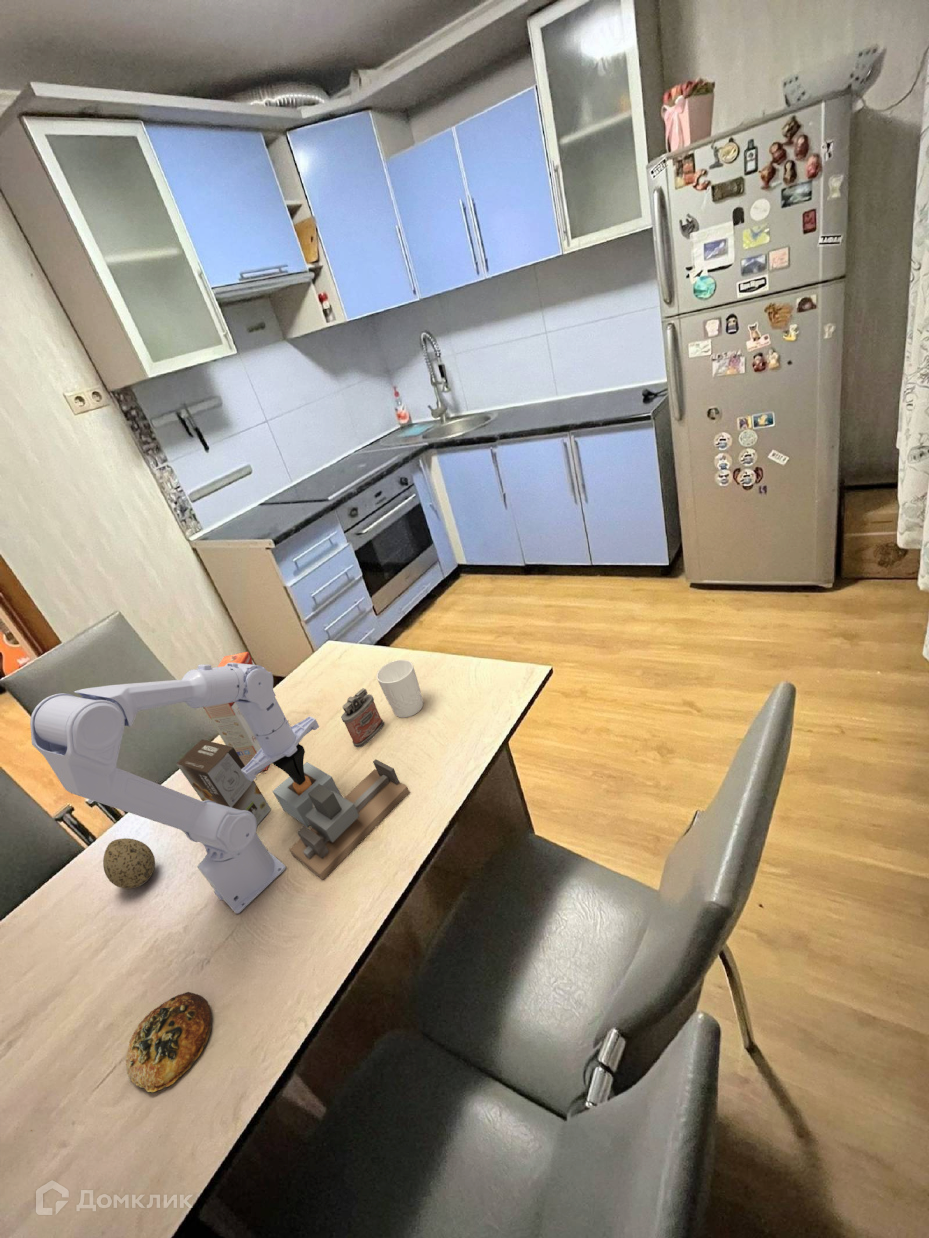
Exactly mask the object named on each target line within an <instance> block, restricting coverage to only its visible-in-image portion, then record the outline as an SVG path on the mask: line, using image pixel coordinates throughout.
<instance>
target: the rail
mask: <svg viewBox="0 0 929 1238" xmlns="http://www.w3.org/2000/svg"><path fill="white" fill-rule="evenodd" d="M372 764H373V765H374V769H373V770H372V771H371V772H370V773H369V774H368V775H366V776H365V778H363V779H362V780H361V781H360V782H359V783H358V784H357V785H356V786H355V787H353V789H352V790H350V792H348V793H347V795H345V796H344V797H343V798H345V799H347V800H348V801H350V802H352V803H353V804H354V805H355V807H356V809H357V811H358V813H359V815H360V816H359V817H358V818H357V819H356V820H355V821H354V822H353V823H352V824H351V825H350V826H349V827H348V828H347V829H346V830H345V831H344V832H343V833H342V834H341V835H340V836H339V837H338V838H337V839H336V840H335V841H334V842H333V843H332V842H331V841H330V840H328V839H327V838H325V837H324V836H323V835H321V834H320V833H319V832H317V831H316V830H314V829H313V828H312V827H311V828H308V827H306V826H305V825H302V827H301V828H299V829H298V830H297V831H296V833H297V835H298V836H299V839H298V840H297V841H296V842H295V843H294V844H293V845H292V846H290V848H289V849H288V850H289V852H290V854H291V855H292V856H293V858H295V859H296V860H298V861H299V862H300V863H301V864H303V865H304V866H305V867H306V868H307V869H308V870H310V871H312V873H314V874H315V875H316V876H318V877H319V878H320V879H321V880H322V881H324V880H325V879H326V878H327V877H328V876H329V875H330V874H331V873H332V872H333V871H334V870H335V868H337V867H338V866H339V865H340V864H341V863H342V862H343V860H345V859H346V858H347V857H348V856H349V855H350V854H351V852H353V850H355V848H357V847H358V846H359V844H360V843H361V842H362V841H363V840H365V838H366V837H368V835H370V833H372V831H373V830H374V829H375V828H376V827H377V826H378V825H379V824H380V823H381V822H382V821H383V820H384V819H385V818H386V817H387V816H388V814H390V813H391V812H392V810H394V809H395V807H397V806H398V805H399V804H400V803H401V802H402V801H403V800H404V798H405V797H406V796H407V795H408V794H409V793H410V790H409V788H408V786H407V785H405V784H404V783H401V781H400V780H399V777H398V775H397V772H396V771H395V769H394V767H391V766H389V765H388V764H386V763H383V762H382V761H380V760H378V759H374V760H373V761H372Z"/></svg>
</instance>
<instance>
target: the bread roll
mask: <svg viewBox="0 0 929 1238" xmlns="http://www.w3.org/2000/svg"><path fill="white" fill-rule="evenodd" d="M212 1017H213V1016H212V1010H211V1006H210V1004H209V1003H208V1000H206V999H205V998H204V997H203V995H200V994H198V993H193V992H189V991H187V992H183V993H180V994H177V995H176V996H174V997H170V999H167V1000H166V1001H164V1002H163V1003H161V1004H160V1005H158V1006H157V1007H156V1008H153V1010H151V1011H150V1012H149V1013H148V1014H147V1015H145V1017H144V1018H143V1019H142V1020H141V1021H140V1023H138V1025H137V1027H136V1029H135V1030H134V1031H133V1033H132V1034H131V1037H130V1040H129V1044H128V1047H127V1051H126V1056H125V1063H126V1064H125V1065H126V1074H127V1075H128V1077H129V1078H130V1080H131V1083H133V1084H134V1085H136V1087H138V1088H142V1089H144V1090H145V1091H146V1092H148V1093H156V1092H158V1091H160V1090H163V1089H164V1088H167V1087H170V1086H172V1085H174V1084H175V1082H177V1081H178V1080H179V1079H180V1078H181V1077H182V1076H183V1075H184V1074H185V1073H186V1072H187V1071H189V1070H190V1069H191V1068H192V1067H193V1065H194V1063H195V1062H196V1061H197V1060H198V1058H199V1057H200V1056H201V1054H202V1053H203V1052H204V1050H205V1047H206V1045H207V1042H208V1041H209V1038H210V1035H211V1032H212V1019H213V1018H212Z"/></svg>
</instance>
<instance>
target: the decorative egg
mask: <svg viewBox="0 0 929 1238" xmlns="http://www.w3.org/2000/svg"><path fill="white" fill-rule="evenodd" d="M102 862H103V871H104V873H105V874H104V875H105V876H106V878H107V879H108V881H109V882H110V883H111V884H112V885H114V886H116V887H118V888H121V889H126V890H128V889H131V890H132V889H135V888H138V887H141V886H142V885H144V884H145V883H146V882H148V880H150V878H151V877H152V874H153V873H154V871H155V867H156V859H155V855H154V852H153V851H152V849H151V848H150V847H149V846H148V845H147V844H146V843H144V842H142V841H141V840H137V839H134V838H117V839H114V840H112V841H111V842H109V843H108V845H107V847H106V848H105V851H104V854H103V860H102Z"/></svg>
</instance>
